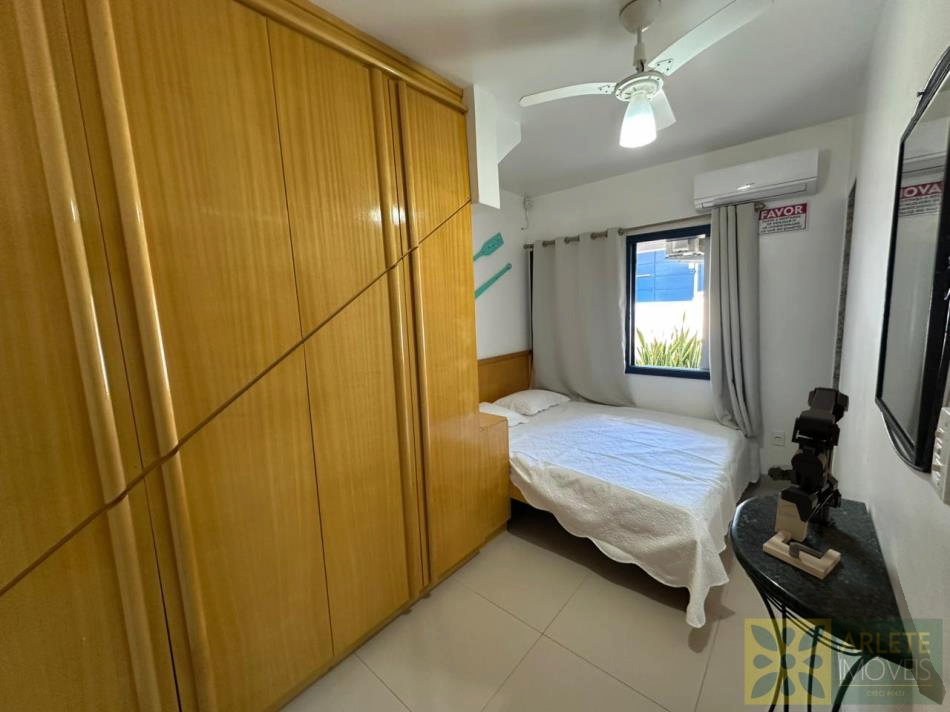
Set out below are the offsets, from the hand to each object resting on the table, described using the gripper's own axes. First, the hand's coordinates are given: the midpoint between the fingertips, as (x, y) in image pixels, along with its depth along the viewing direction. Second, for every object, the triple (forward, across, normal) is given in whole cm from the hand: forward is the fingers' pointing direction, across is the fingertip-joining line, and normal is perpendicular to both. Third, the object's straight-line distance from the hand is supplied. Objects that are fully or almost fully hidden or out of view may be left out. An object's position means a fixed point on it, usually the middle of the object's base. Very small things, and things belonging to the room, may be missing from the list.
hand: (807, 518), depth 93 cm
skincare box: (+10, -6, -5) cm, 13 cm away
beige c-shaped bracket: (+10, +3, 0) cm, 10 cm away
